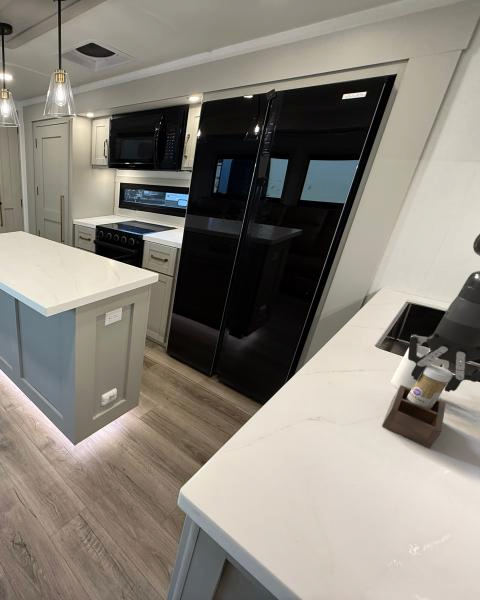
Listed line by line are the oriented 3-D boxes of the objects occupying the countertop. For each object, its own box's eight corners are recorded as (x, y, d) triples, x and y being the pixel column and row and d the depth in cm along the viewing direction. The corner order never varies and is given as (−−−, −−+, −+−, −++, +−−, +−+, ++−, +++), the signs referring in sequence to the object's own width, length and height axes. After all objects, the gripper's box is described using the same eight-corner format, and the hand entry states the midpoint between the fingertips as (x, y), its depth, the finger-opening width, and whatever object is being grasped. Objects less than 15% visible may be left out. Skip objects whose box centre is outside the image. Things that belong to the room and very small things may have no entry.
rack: (435, 418, 76) (445, 402, 74) (429, 449, 67) (441, 432, 65) (391, 399, 82) (400, 384, 80) (381, 426, 73) (391, 410, 71)
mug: (400, 393, 84) (421, 356, 80) (383, 378, 91) (402, 343, 86) (443, 400, 83) (468, 363, 78) (423, 384, 89) (445, 349, 84)
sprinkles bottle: (394, 408, 78) (420, 364, 73) (407, 406, 79) (434, 362, 74) (416, 422, 74) (445, 376, 69) (429, 419, 75) (459, 374, 70)
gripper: (523, 328, 63) (476, 394, 70) (425, 304, 73) (392, 364, 80) (527, 339, 59) (476, 408, 66) (421, 312, 69) (387, 374, 76)
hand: (430, 383), depth 73 cm, fingers closed on sprinkles bottle, 4 cm apart
